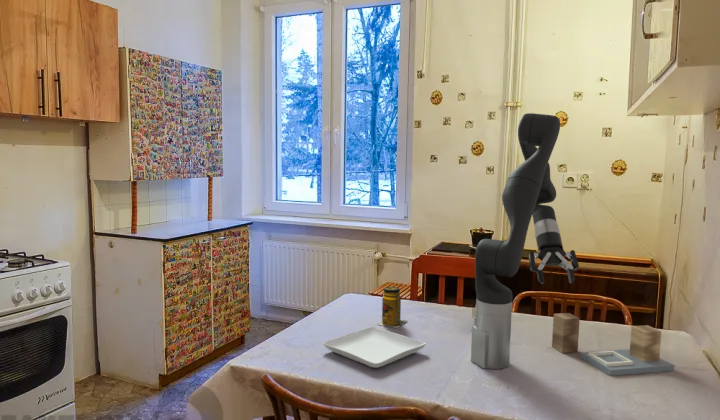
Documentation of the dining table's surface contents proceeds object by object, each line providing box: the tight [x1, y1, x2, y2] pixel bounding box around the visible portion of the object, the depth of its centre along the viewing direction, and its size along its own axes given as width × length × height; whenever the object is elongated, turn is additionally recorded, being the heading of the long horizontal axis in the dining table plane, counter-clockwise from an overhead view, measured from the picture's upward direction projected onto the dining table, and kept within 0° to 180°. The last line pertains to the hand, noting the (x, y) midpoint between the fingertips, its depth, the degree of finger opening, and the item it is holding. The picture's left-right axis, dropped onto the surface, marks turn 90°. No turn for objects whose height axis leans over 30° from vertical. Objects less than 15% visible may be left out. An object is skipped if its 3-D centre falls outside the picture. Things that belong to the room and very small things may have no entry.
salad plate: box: [322, 326, 427, 368], centre depth 143 cm, size 21×21×3 cm
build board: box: [580, 348, 676, 377], centre depth 138 cm, size 19×12×2 cm, turn 101°
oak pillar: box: [629, 324, 662, 362], centre depth 139 cm, size 5×5×8 cm
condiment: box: [377, 286, 408, 329], centre depth 169 cm, size 7×8×12 cm
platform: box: [471, 304, 476, 326], centre depth 167 cm, size 12×18×7 cm, turn 168°
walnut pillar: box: [551, 312, 581, 354], centre depth 147 cm, size 5×5×10 cm
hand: (557, 282), depth 157 cm, fingers open, 8 cm apart
